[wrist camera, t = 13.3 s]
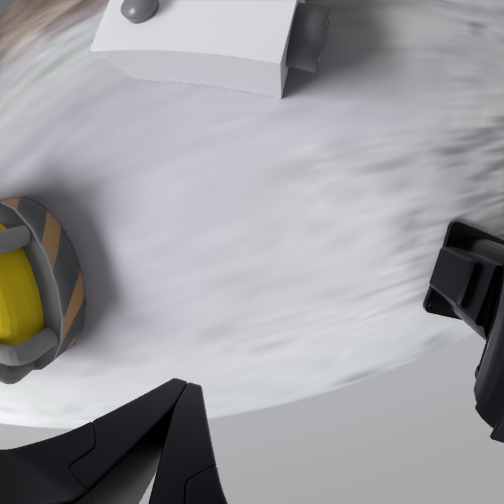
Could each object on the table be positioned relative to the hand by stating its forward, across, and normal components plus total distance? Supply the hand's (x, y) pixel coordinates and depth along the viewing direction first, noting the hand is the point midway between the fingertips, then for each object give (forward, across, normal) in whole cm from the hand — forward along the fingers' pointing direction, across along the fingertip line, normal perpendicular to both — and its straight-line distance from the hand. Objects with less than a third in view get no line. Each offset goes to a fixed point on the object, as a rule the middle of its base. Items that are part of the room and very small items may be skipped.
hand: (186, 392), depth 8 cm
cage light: (+12, +26, +8) cm, 30 cm away
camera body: (+12, +5, -16) cm, 20 cm away
